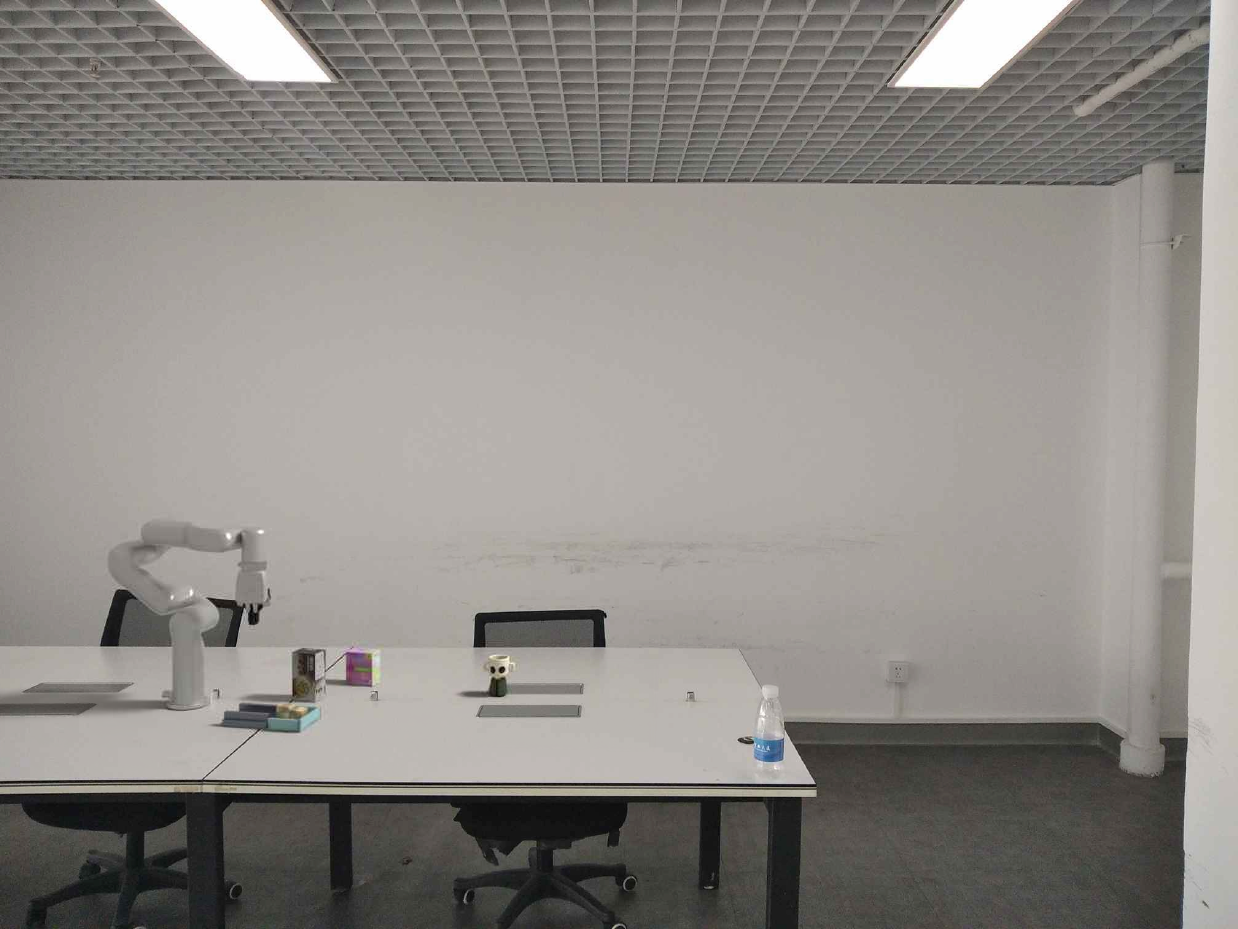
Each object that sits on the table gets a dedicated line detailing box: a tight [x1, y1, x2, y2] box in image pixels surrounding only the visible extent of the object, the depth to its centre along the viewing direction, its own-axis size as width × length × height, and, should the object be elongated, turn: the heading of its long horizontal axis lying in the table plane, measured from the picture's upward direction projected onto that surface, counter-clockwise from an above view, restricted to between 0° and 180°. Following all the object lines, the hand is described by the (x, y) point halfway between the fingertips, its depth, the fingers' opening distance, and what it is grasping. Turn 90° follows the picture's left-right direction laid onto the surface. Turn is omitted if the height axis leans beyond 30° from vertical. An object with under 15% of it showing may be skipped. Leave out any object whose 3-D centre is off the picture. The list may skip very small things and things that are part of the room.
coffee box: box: [291, 647, 327, 703], centre depth 312 cm, size 9×6×16 cm
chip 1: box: [276, 701, 296, 719], centre depth 286 cm, size 4×4×4 cm
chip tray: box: [267, 705, 322, 733], centre depth 285 cm, size 10×14×4 cm
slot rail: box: [221, 702, 278, 730], centre depth 287 cm, size 14×12×4 cm
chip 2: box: [288, 705, 308, 720], centre depth 285 cm, size 4×4×4 cm
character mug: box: [482, 654, 516, 696], centre depth 321 cm, size 11×7×13 cm, turn 87°
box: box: [345, 647, 381, 687], centre depth 332 cm, size 10×6×12 cm, turn 76°
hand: (253, 624), depth 299 cm, fingers closed
